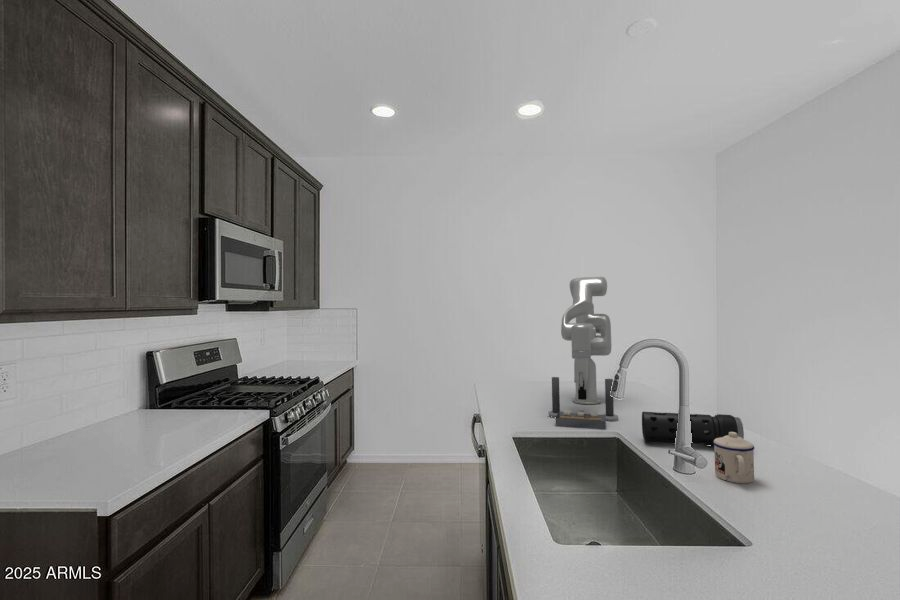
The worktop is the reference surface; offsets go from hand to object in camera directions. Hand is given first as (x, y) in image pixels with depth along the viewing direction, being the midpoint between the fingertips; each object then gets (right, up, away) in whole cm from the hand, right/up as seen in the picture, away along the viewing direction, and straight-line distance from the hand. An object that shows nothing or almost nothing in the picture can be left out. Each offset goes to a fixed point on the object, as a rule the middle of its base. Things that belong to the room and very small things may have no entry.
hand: (582, 399), depth 184 cm
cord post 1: (-10, -8, +2) cm, 13 cm away
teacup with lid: (+19, -6, -69) cm, 72 cm away
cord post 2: (+9, -7, -5) cm, 13 cm away
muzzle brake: (+23, -6, -40) cm, 47 cm away
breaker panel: (-4, -7, -12) cm, 15 cm away
